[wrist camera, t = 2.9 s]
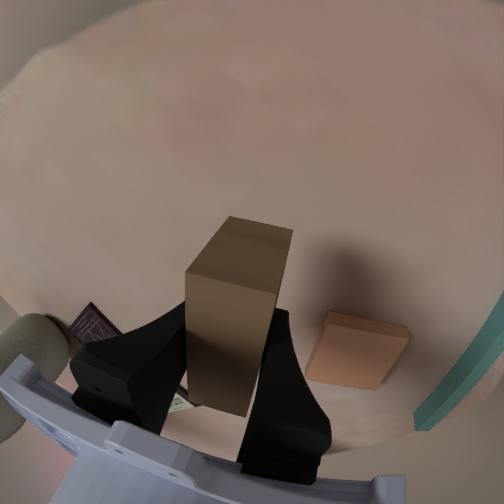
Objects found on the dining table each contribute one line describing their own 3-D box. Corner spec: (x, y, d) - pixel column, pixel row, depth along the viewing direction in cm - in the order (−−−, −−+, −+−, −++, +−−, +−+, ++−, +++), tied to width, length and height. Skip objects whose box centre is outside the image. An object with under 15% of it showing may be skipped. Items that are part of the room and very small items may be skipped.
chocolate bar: (88, 304, 28) (201, 405, 32) (93, 299, 29) (203, 399, 33) (67, 329, 32) (163, 414, 36) (71, 325, 33) (165, 409, 37)
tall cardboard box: (265, 349, 17) (245, 417, 13) (217, 337, 18) (188, 400, 13) (293, 230, 13) (276, 294, 9) (229, 216, 14) (185, 271, 9)
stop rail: (426, 413, 26) (428, 430, 24) (413, 413, 26) (415, 430, 24) (527, 275, 16) (540, 291, 14) (514, 270, 16) (527, 287, 14)
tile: (373, 374, 25) (374, 390, 23) (306, 362, 26) (304, 379, 24) (405, 323, 22) (409, 339, 20) (328, 307, 23) (327, 323, 21)
